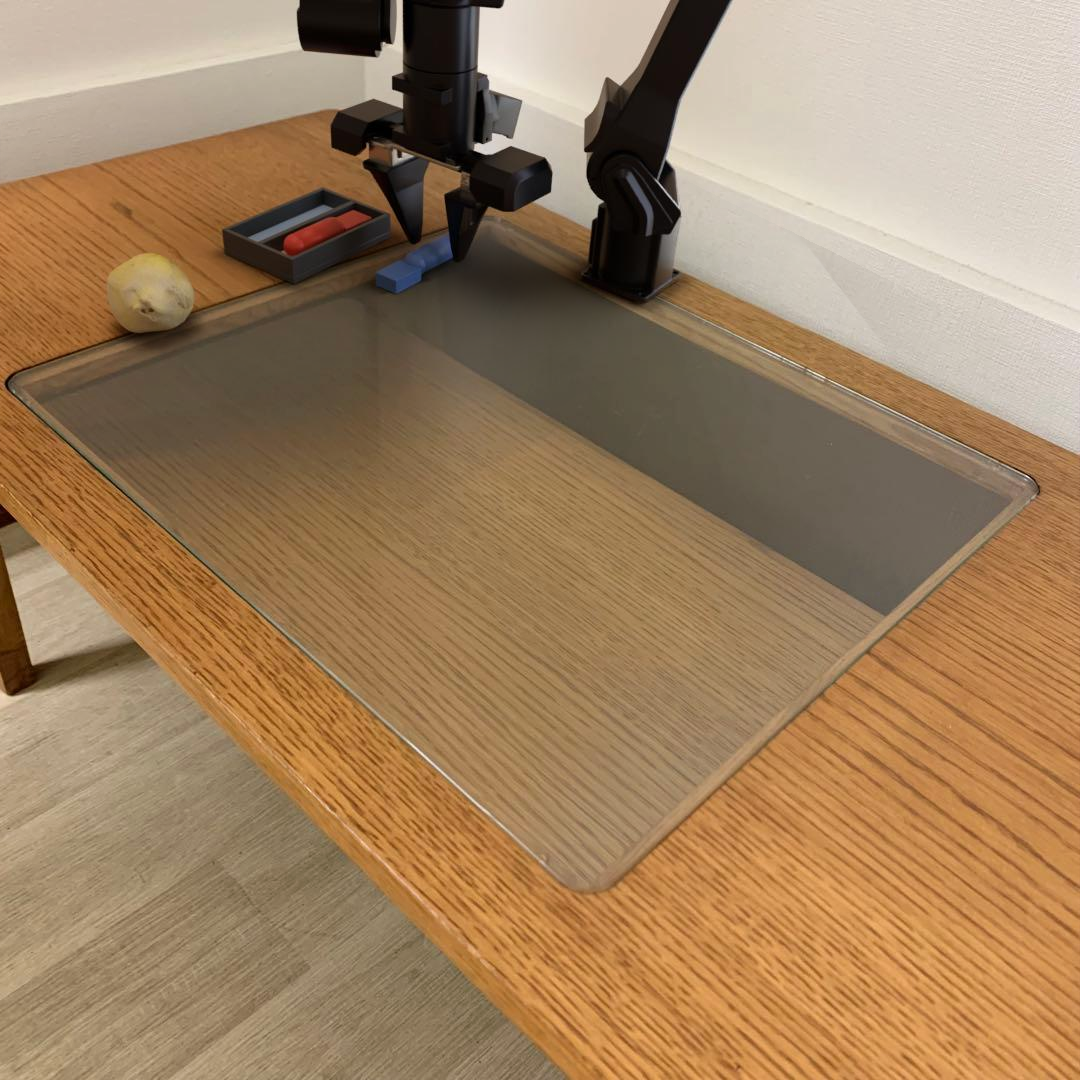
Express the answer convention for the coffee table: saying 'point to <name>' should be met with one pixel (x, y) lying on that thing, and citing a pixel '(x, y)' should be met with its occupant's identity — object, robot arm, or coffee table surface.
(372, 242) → the tray
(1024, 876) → the coffee table surface
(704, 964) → the coffee table surface
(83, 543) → the coffee table surface
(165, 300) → the fruit
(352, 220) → the red capsule-ended rod
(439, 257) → the blue block-ended handle
